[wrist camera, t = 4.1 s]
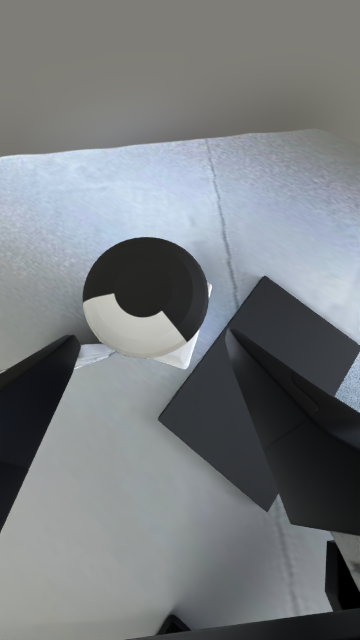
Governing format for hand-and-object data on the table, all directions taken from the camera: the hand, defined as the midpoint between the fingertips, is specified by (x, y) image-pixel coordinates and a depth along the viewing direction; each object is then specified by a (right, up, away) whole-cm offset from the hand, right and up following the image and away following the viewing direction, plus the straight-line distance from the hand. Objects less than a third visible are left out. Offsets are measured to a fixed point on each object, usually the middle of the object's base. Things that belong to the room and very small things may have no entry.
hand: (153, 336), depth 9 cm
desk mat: (+12, -6, +9) cm, 16 cm away
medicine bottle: (0, +1, +10) cm, 10 cm away
